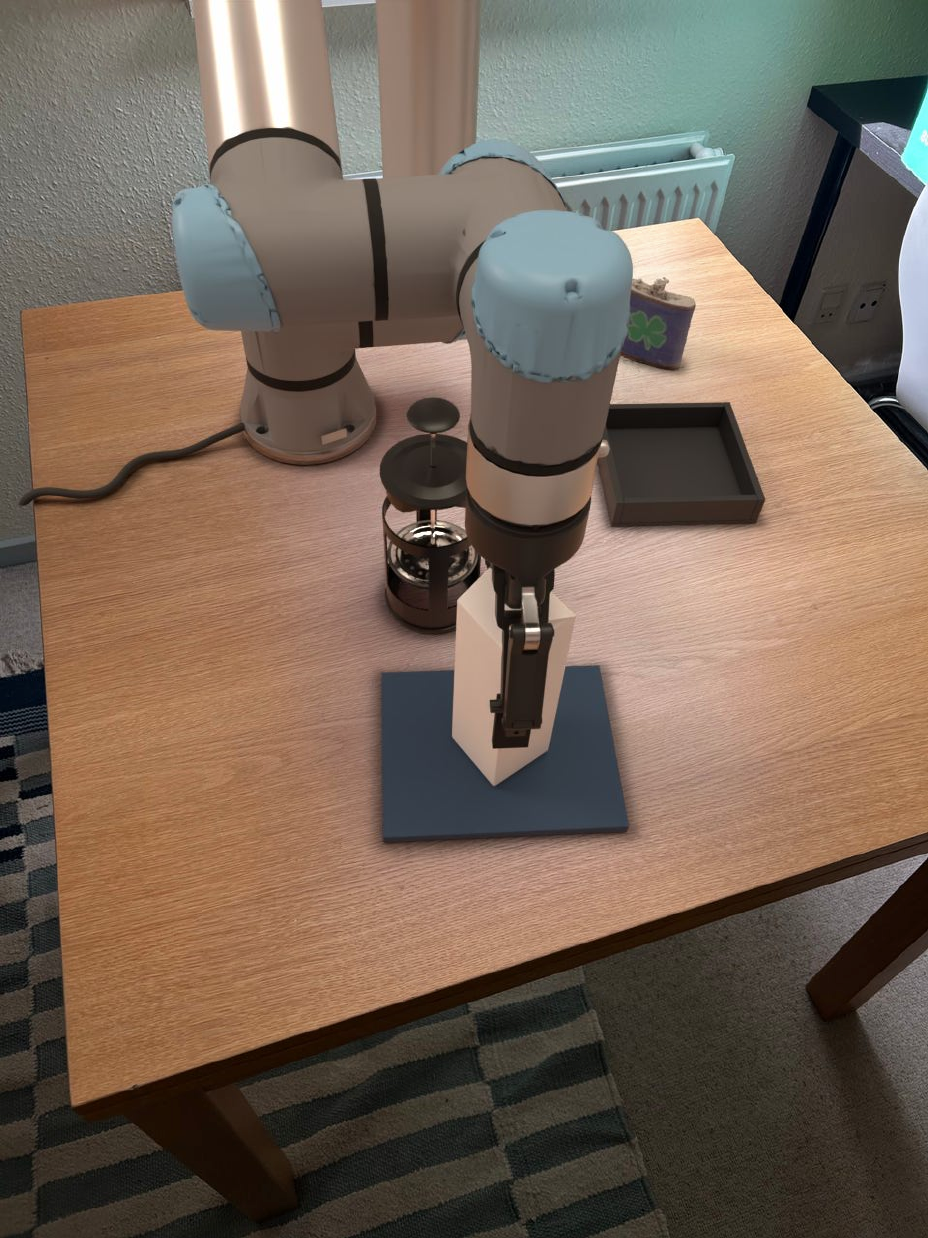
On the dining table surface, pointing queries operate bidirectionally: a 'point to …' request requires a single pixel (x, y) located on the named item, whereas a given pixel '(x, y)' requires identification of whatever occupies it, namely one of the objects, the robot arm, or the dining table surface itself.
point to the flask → (657, 325)
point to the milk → (498, 680)
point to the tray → (677, 466)
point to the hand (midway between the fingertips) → (504, 694)
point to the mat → (461, 794)
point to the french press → (427, 518)
